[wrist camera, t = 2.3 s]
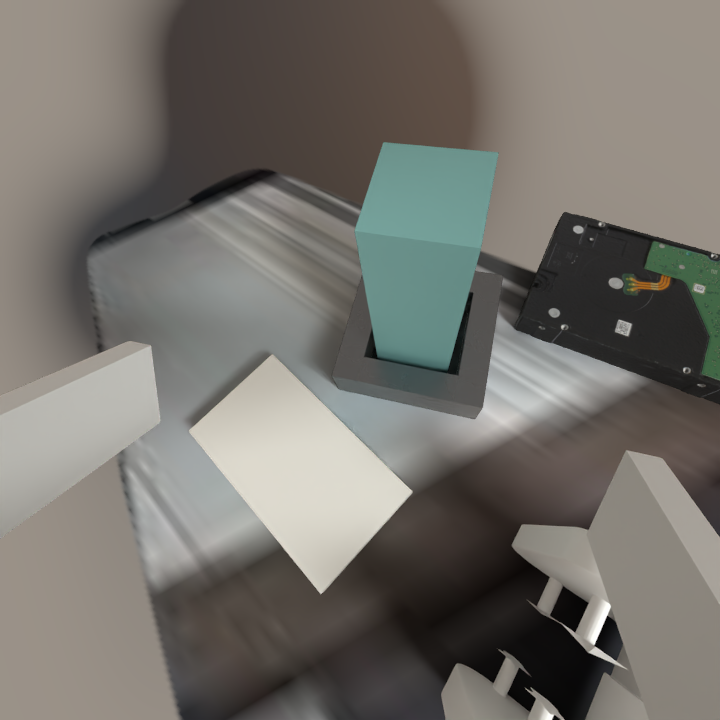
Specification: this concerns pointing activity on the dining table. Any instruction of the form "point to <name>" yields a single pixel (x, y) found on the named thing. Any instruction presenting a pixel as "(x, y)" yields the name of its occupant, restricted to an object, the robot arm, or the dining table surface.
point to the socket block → (420, 384)
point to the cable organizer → (581, 576)
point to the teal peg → (422, 247)
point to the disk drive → (630, 303)
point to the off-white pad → (300, 470)
